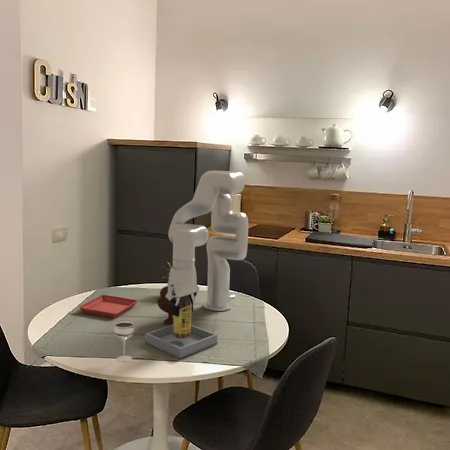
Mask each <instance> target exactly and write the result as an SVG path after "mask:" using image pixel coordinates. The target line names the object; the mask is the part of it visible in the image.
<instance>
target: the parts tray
mask: <svg viewBox="0 0 450 450" xmlns="http://www.w3.org/2000/svg"><path fill="white" fill-rule="evenodd" d="M144 335H145V338H144V339H145V340H144V343H145V344H147V345H149V346H151V347H153V348H155V349H158V350H159V351H162V352H165V353H166V354H169V355H171V356H172V357H175V358H177V359H179V360H182V359H184V358H186V357H189V356H191V355H194V354H196V353H198V352H201V351H203V350H206V349H208V348H211V347H212V346H215V345H218V334H216V333H214V332H211V331H210V330H209V331H208V330H206V329H205V328H202V327H200V326H199V327H198V326H197V325H193V324H191V332H190V336H189V337H187V338H183V339H182V338H180V339H179V338H176V337H174V335H173V325H166V326H165V327H161V328H157V329H155V330H151V331H150V332H146V333H145V334H144Z"/></svg>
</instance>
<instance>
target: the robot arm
mask: <svg viewBox="0 0 450 450" xmlns="http://www.w3.org/2000/svg"><path fill="white" fill-rule="evenodd" d="M245 185H246V177H245V175H244V174H243V173H242V172H241V171H228V170H208V171H206V172H204V173H203V174H202V175H201V177H200V178H199V182H198V185H197V187H196V189H195V191H194V195H193V198H192V199H191V200H190V201H189V202H187V203H185V204H184V205H182V206H181V207H180V208H179V209H178V210H177V211H176V212H175V214H173V217H172V220H171V223H170V225H169V228H168V233H167V234H168V238H169V241H170V243H172V268H171V269H169V270H170V275H169V274H168V282H167V283H168V285H167V286H168V293H167V294H166V296H165V298H166V299H167V300H168V301H169V302H170V304H172V316H173V317H174V316H177V317H178V316H179V305H178V303H179V300H180V297H183V296H186V295H189V297H190V301H191V304H192V308H191V313H193V312H194V301H195V300H196V297H197V294H198V292H199V291H200V287H199V286H198V284H197V282H198V281H197V280H198V279H197V269H196V265H195V262H196V257H195V255H196V247H201V246H204V245H205V244H206V254H207V283H206V284H207V287H206V288H207V289H206V291H207V292H206V300H205V301H204V302H203V303H202V304H203V305H202V306H203V308H204V309H206V310H208V311H214V312H224V311H229V310H231V308H233V307H232V306H233V304H232V303H231V300H234V299H236V296H235V294H230V279H231V278H230V277H231V276H230V275H231V274H230V273H231V268H230V267H231V266H230V265H229V262H228V261H227V260H235V261H241V260H244V259H246V257H247V253H248V246H249V245H248V242H249V217H248V216H247V215H246V213H244V212H241V211H233V210H232V208H233V207H232V205H233V204H232V203H233V200H232V195H237V194H240V193H242V192H243V190H244V188H245ZM209 213H211V217H210V218H211V219H210V225H211V230H212V231H213V232H215V233H219V234H228V235H229V234H231V235H235V236H228V235H212V236H210V237H209V235H210V234H209V230H208V229H207V227H206V226H204V225H203V224H202V225H201V224H191V223H186V222H187V221H189V220H191V219H195V218H196V217H201V216H203V215H207V214H209ZM171 296H172V297H171ZM175 298H176V301H175Z"/></svg>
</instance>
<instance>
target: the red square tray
mask: <svg viewBox="0 0 450 450" xmlns="http://www.w3.org/2000/svg"><path fill="white" fill-rule="evenodd" d="M138 302H139V300H138V299H134V298H126V297H121V296H115V295H107V294H101V295H99V296H96V297H95V298H93V299H91V300H89V301H87V302H85V303H84V304H83V303H82V304H81V305H79V306H78V308H79V310H81V312H83V313H85V314H89V315H90V314H91V315H96V316H101V317H106V318H112V319H116V318H118V317H119V316H121V315H122V314H124V313H126V312H127V311H129V310H131V309H133V307H134V306H135V305H136V304H137V303H138Z"/></svg>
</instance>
